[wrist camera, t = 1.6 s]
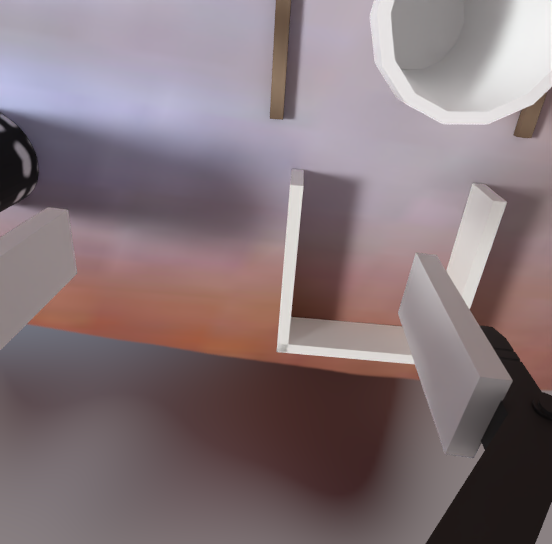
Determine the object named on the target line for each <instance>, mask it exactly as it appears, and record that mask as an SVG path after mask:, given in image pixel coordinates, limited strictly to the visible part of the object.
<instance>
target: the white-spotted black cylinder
mask: <svg viewBox="0 0 552 544" xmlns="http://www.w3.org/2000/svg"><path fill="white" fill-rule="evenodd" d="M38 174H39V171H38V161H37V157H36V154H35V151H34V149H33V147H32V145H31V143H30V141H29V140H28V138H27V137H26V135H25V134H24V133H23V132H22V131H21V129H20V128H19V127H18V126H17V125H16V124H15V123H13V122H12V121H11V120H10V119H8V118H7V117H5V116H4V115H2V114H1V113H0V212H1V211H3V210H5V209H6V208H8V207H10V206H12V205H14V204H15V203H17V202H19V201H21V200H22V199H24V198H25V197H27V196H28V195H29V194H30V193H31V192H32V191H33V189H34V188H35V185H36V183H37V180H38Z"/></svg>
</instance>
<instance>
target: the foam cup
mask: <svg viewBox="0 0 552 544" xmlns="http://www.w3.org/2000/svg"><path fill="white" fill-rule="evenodd" d="M370 24H371V33H372V42H373V51H374V60H375V64H376V66H377V68H378V69H379V71H380V72H381V74H382V76H383V77H384V79H385V80H386V82H387V84H388V85H389V87H390V88H391V90H392V92H393V93H394V95H395V96H396V98H397V99H399V100H400V101H402V102H403V103H405V104H407V105H408V106H410V107H412V108H414V109H416V110H418V111H419V112H421V113H423V114H425V115H427V116H429V117H430V118H432V119H434V120H436V121H438V122H440V123H441V124H490V123H492V122H494V121H496V120H499V119H501V118H503V117H506V116H508V115H510V114H512V113H515V112H517V111H519V110H522V109H524V108H526V107H529V106H531V105H533V104H534V103H535V102H536V101H537V100H538V99H540V98H541V97H542V96H543V95H544V94H545V93H546V92H547V91H548V90H549V89H550V88H551V87H552V0H374V3H373V6H372V10H371V13H370Z"/></svg>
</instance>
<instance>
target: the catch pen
mask: <svg viewBox="0 0 552 544" xmlns="http://www.w3.org/2000/svg"><path fill="white" fill-rule="evenodd" d="M303 186H304V170H299V169H292V172H291V181H290V193H289V205H288V217H287V230H286V242H285V255H284V267H283V280H282V292H281V305H280V317H279V330H278V342H277V352H283V353H295V354H306V355H317V356H328V357H340V358H351V359H362V360H373V361H385V362H396V363H407V364H415V363H414V360H413V357H412V354H411V351H410V348H409V345H408V342H407V339H406V336H405V333H404V330H403V327H402V326H391V325H380V324H368V323H356V322H345V321H333V320H322V319H310V318H299V317H291V311H292V300H293V290H294V279H295V269H296V259H297V248H298V238H299V228H300V217H301V207H302V196H303ZM506 204H507V202H506V201H505V200H504V199H503V198H501V197H500V196H499V195H498V194H496V193H495V192H494V191H493V190H492V189H490V188H489V187H488V186H487V185H485V184H478V183H472V187H471V190H470V193H469V197H468V200H467V203H466V207H465V210H464V213H463V217H462V220H461V223H460V227H459V230H458V234H457V237H456V240H455V244H454V247H453V250H452V254H451V257H450V260H449V264H448V267H447V270H446V271H447V273H448V275H449V276H450V278H451V280H452V281H453V283H454V285H455V286H456V288H457V290H458V291H459V293H460V295H461V296H462V298H463V299H464V301H465V303H466V304H467V306H468V308H469V309H470V307H471V304H472V301H473V299H474V296H475V293H476V290H477V287H478V284H479V281H480V278H481V276H482V273H483V270H484V267H485V264H486V261H487V258H488V255H489V253H490V250H491V247H492V244H493V241H494V238H495V235H496V232H497V230H498V227H499V224H500V221H501V218H502V215H503V212H504V210H505V207H506Z"/></svg>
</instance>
